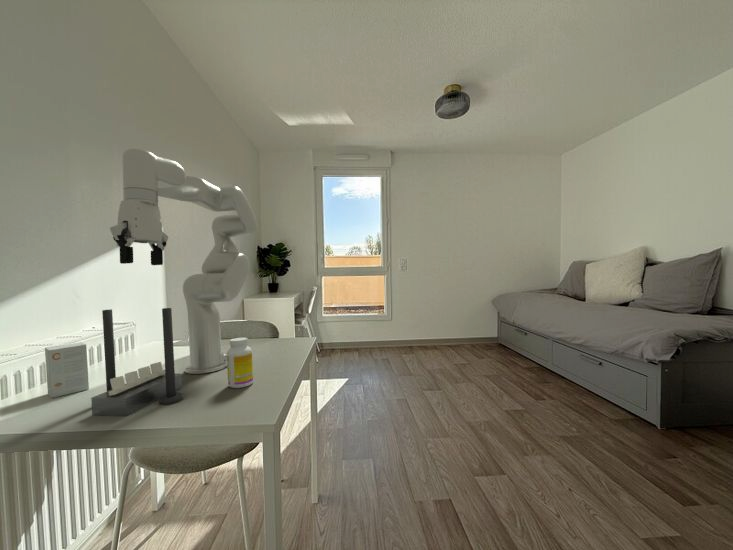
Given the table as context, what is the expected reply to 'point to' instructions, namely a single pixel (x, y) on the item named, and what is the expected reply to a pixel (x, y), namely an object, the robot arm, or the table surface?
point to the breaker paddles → (135, 378)
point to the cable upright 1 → (109, 347)
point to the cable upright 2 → (169, 361)
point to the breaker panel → (132, 397)
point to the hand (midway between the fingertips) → (142, 264)
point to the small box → (66, 369)
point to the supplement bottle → (239, 363)
